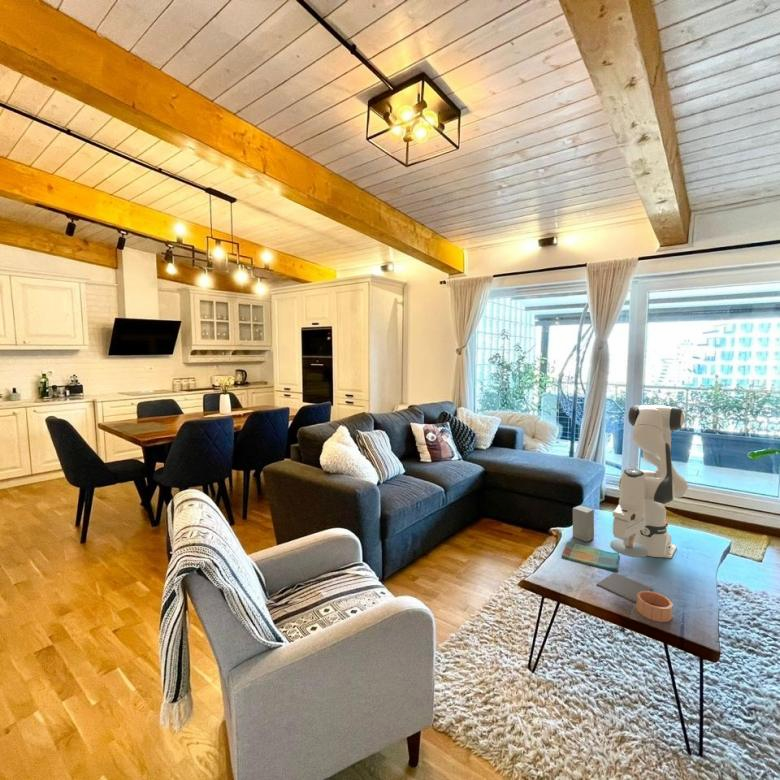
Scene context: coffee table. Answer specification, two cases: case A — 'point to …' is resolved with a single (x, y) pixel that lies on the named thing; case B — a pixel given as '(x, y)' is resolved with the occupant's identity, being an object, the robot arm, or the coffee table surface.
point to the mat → (623, 586)
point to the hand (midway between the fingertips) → (628, 543)
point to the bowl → (654, 606)
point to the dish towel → (591, 556)
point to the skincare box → (583, 523)
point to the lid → (629, 548)
